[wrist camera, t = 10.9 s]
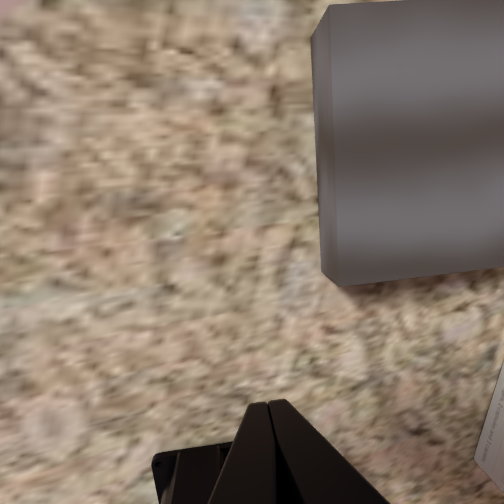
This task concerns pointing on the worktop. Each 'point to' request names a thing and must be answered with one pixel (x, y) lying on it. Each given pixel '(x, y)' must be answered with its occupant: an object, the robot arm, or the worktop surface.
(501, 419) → the supplement box
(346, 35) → the plate
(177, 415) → the worktop surface
